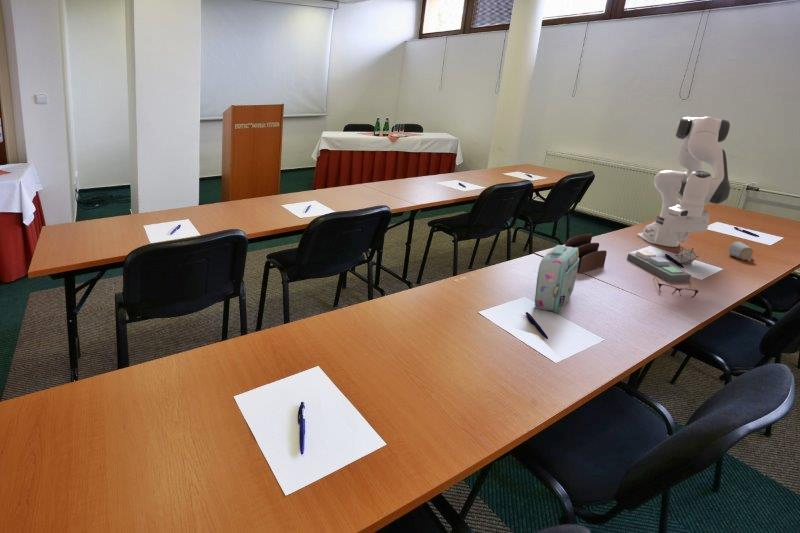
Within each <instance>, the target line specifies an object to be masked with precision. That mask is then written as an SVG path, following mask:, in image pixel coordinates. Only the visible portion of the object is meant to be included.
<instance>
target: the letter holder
mask: <svg viewBox="0 0 800 533" xmlns="http://www.w3.org/2000/svg"><path fill="white" fill-rule="evenodd" d="M592 239H593V234H592V233H585V234H579V235H576V236H573V237H570V238H567V240H566V241H565V244H564V246H567V247H573V248H575V247H577V248H578V251H579V256H578V258H579V265H578V270H577V274H578V273H579V274H578V275H580V274H583V272H584V273H587V272H589V271H590V272H591V271H593V270H596V269H600V268H604V267H605V263H606V257H607V253H608V252H607V250H604V249H603V250H599V249H600V243H599V242H592Z"/></svg>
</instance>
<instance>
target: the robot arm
mask: <svg viewBox="0 0 800 533" xmlns="http://www.w3.org/2000/svg"><path fill="white" fill-rule="evenodd" d="M730 131H731V124H730V122H729V121H728V120H726V119H723V118H721V119H720V118H719V119H718V118H714V117H712V116H702V117H700V116H699V117H698V116H694V117H691V116H685V117H681V118H680V119H679V120H678V121H677V123H676V125H675V127H674V132H675V137H676V138H677V139H680V140H682V142H681V145H680V147H679V151H678V153H677V157H676V161H677V164H678V165H679V166H681V168H683V169H685V170H686V171H679V170H671V169H670V170H660V171H658V172H657V174H655V176H654V179H653V185H654V188H655V189H656V190H657V191H658V192H659V193H660V195H661V199H662V206H661V210H660V215H656V216H655V219H656V220H655V221H654V222H651V223H650V224H647V225H645V227H644V228H643V230H642V232H638V233H637V234H636V235H637V236H638V237H640V238H641V239H643V240H645V241H646V242H648V243H649V244H654V245H659V246H664V247H674V248H675V247H679V244H680V243H685V242H686V241H687V238H688V237H690V235H691V233H705V232H706V231H707V230H708V229H709V228H708V227H709V224H710V215H711V213H710V212H709V211H708V210H704V208H705V204H706V202H707V203H710V204H711V203H712V204H714V205H715V204H717V205H719V204H721V203H723V202H725V201H727V200H728V198H729V196H730V194H731V184H730V180H729V173H728V161H727V160H728V159H727V153H726V151H725V150H724V149H723V148H722V147H721V146H720V144H719V143H722V142H723V141H725V140H726V139H727V138H728V137H729V135H730ZM703 163H707V164H708V165H710V166H712V167H713V169H714V178H712V174H711V173H710V172H707V171H704V170H703ZM677 194H679V196H681V198H682V199H681V198H678V197H677Z"/></svg>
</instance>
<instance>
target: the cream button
mask: <svg viewBox="0 0 800 533" xmlns="http://www.w3.org/2000/svg"><path fill="white" fill-rule="evenodd" d="M635 253H636V255H637V256H639V257H640V258H642V259H649V257H657V254H656V253H653V252H651V251H649V250H636V252H635Z"/></svg>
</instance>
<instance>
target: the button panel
mask: <svg viewBox="0 0 800 533" xmlns="http://www.w3.org/2000/svg"><path fill="white" fill-rule="evenodd" d="M626 260H628V261H629V262H632V263H634V264H636V265H638V266H639V267H640V268H643V269H645V270H647V271H649V272H650V273H652V274H653V275H656V276H658V277H659V278H661V279H663V280H665V281H667V282H669V283H670V282H671V283H673V282H690V281H691V279H692V278H691V277H692V274H691V273H688V272H687V271H685V270H683V269H681V268H679V267H676V266H675V265H673V264H670V263H669V266H656V265H654V264H652V263H650V262H648V260H649V259H642V258H640V257H639V256H637V255H636V252H629V253H628V254H627V258H626ZM662 267H674V268H676V269H679V270H681V271H683V273H670V272H668V271H666V270H664V269H662Z"/></svg>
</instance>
